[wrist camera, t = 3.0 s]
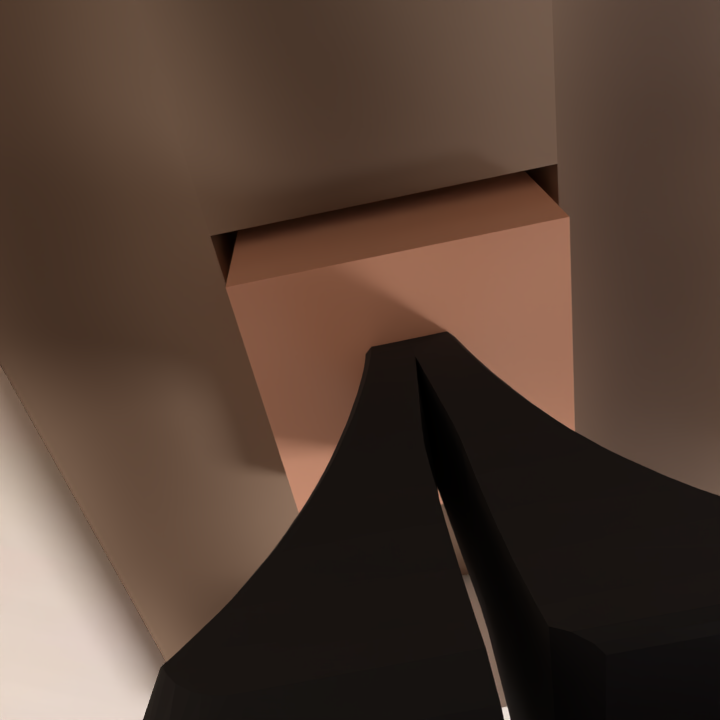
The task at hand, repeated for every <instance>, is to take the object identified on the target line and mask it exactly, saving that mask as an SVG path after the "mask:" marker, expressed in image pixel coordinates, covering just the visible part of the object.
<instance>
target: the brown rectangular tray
mask: <svg viewBox="0 0 720 720" xmlns="http://www.w3.org/2000/svg"><path fill="white" fill-rule="evenodd" d="M520 171H525V172H526V173H527V174H528V175H529V176H530V177H531V178H532V179H533V180H534V181H535V182H536V183H537V184H538V185H539V186H540V187H541V188H542V189H543V190H544V191H545V192H546V193H547V194H548V195H549V196H550V197H551V198H552V199H553V200H554V201H555V202H556V203H557V204H558V206H559V207H560V208H561V209H562V210H563V211H564V212H565V213H566V214H567V215H568V216H569V217H570V255H571V294H572V333H573V372H574V412H575V432H577V433H579V434H581V435H582V436H584V437H586V438H588V439H590V440H591V441H593V442H595V443H597V444H599V445H600V446H602V447H604V448H606V449H608V450H610V451H612V452H614V453H616V454H618V455H620V456H622V457H624V458H627V459H629V460H631V461H633V462H636V463H638V464H640V465H642V466H645V467H647V468H649V469H651V470H654V471H656V472H658V473H660V474H663V475H665V476H667V477H670V478H673V479H675V480H678V481H680V482H683V483H685V484H688V485H691V486H693V487H696V488H698V489H701V490H704V491H707V492H710V493H713V494H716V495H718V496H720V0H0V365H1V367H2V368H3V370H4V372H5V374H6V376H7V377H8V379H9V381H10V383H11V385H12V386H13V388H14V390H15V392H16V394H17V395H18V397H19V399H20V401H21V403H22V404H23V406H24V408H25V410H26V412H27V413H28V415H29V417H30V419H31V421H32V422H33V424H34V426H35V428H36V429H37V431H38V433H39V435H40V437H41V438H42V440H43V442H44V444H45V446H46V447H47V449H48V451H49V453H50V455H51V456H52V458H53V460H54V462H55V464H56V465H57V467H58V469H59V471H60V473H61V474H62V476H63V478H64V480H65V482H66V483H67V485H68V487H69V489H70V491H71V492H72V494H73V496H74V498H75V500H76V501H77V503H78V505H79V507H80V508H81V510H82V512H83V514H84V516H85V517H86V519H87V521H88V523H89V525H90V526H91V528H92V530H93V532H94V534H95V535H96V537H97V539H98V541H99V543H100V544H101V546H102V548H103V550H104V552H105V553H106V555H107V557H108V559H109V561H110V562H111V564H112V566H113V568H114V570H115V571H116V573H117V575H118V577H119V579H120V580H121V582H122V584H123V586H124V587H125V589H126V591H127V593H128V595H129V596H130V598H131V600H132V602H133V604H134V605H135V607H136V609H137V611H138V613H139V614H140V616H141V618H142V620H143V622H144V623H145V625H146V627H147V629H148V631H149V632H150V634H151V636H152V638H153V640H154V641H155V643H156V645H157V647H158V649H159V650H160V652H161V654H162V656H163V658H164V659H165V661H166V662H167V661H168V660H169V659H170V658H171V657H173V656H174V655H175V654H176V653H177V652H178V651H179V650H180V649H181V648H182V647H183V646H184V645H185V644H186V643H187V642H188V641H190V640H191V639H192V638H193V637H194V636H195V635H196V634H197V633H198V632H199V631H200V630H201V629H202V628H203V627H204V626H205V625H206V624H207V623H208V622H209V621H210V620H211V619H213V618H214V617H215V616H216V615H217V614H218V613H219V612H220V611H221V610H222V609H223V608H224V607H225V606H226V605H227V604H228V602H229V601H230V600H231V599H232V598H233V597H234V596H235V595H236V594H237V593H238V591H239V590H240V589H241V588H242V587H243V585H244V584H245V583H246V582H247V581H248V580H249V578H250V577H251V576H252V575H253V574H254V572H255V571H256V570H257V569H258V568H259V567H260V565H261V564H262V563H263V562H264V561H265V560H266V558H267V557H268V556H269V555H270V553H271V552H272V551H273V549H274V548H275V547H276V546H277V544H278V543H279V541H280V540H281V539H282V537H283V536H284V535H285V533H286V532H287V530H288V529H289V527H290V526H291V524H292V523H293V521H294V520H295V518H296V517H297V516H298V514H299V512H298V509H297V506H296V503H295V500H294V497H293V494H292V490H291V487H290V484H289V481H288V478H287V475H286V472H285V469H284V466H283V463H282V460H281V457H280V454H279V450H278V447H277V444H276V441H275V438H274V435H273V432H272V429H271V426H270V423H269V420H268V417H267V414H266V410H265V407H264V404H263V401H262V398H261V395H260V392H259V389H258V386H257V383H256V380H255V377H254V374H253V370H252V367H251V364H250V361H249V358H248V355H247V352H246V349H245V346H244V343H243V340H242V337H241V333H240V330H239V327H238V324H237V321H236V318H235V315H234V312H233V309H232V306H231V303H230V300H229V297H228V293H227V290H226V283H227V278H228V274H229V269H230V265H231V260H232V255H233V251H234V246H235V242H236V237H237V233H238V230H241V229H246V228H251V227H256V226H260V225H265V224H270V223H275V222H280V221H284V220H289V219H294V218H299V217H304V216H308V215H313V214H318V213H323V212H328V211H333V210H337V209H342V208H347V207H352V206H357V205H361V204H366V203H371V202H376V201H381V200H385V199H390V198H395V197H400V196H405V195H409V194H414V193H419V192H424V191H429V190H433V189H438V188H443V187H448V186H453V185H458V184H462V183H467V182H472V181H477V180H482V179H486V178H491V177H496V176H501V175H506V174H510V173H515V172H520ZM441 507H442V511H443V514H444V518H445V521H446V524H447V528H448V531H449V534H450V538H451V541H452V544H453V548H454V551H455V554H456V558H457V561H458V564H459V567H460V571H461V574H462V575H467V574H469V573H468V571H467V568H466V565H465V562H464V560H463V557H462V554H461V551H460V549H459V546H458V543H457V540H456V538H455V535H454V532H453V529H452V527H451V524H450V521H449V518H448V515H447V513H446V510H445V507H444V504H441Z"/></svg>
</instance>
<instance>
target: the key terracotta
mask: <svg viewBox="0 0 720 720" xmlns="http://www.w3.org/2000/svg"><path fill="white" fill-rule="evenodd" d="M226 290H227V293H228V297H229V300H230V303H231V306H232V309H233V312H234V315H235V318H236V321H237V324H238V327H239V330H240V333H241V337H242V340H243V343H244V346H245V349H246V352H247V355H248V358H249V361H250V364H251V367H252V370H253V374H254V377H255V380H256V383H257V386H258V389H259V392H260V395H261V398H262V401H263V404H264V407H265V410H266V414H267V417H268V420H269V423H270V426H271V429H272V432H273V435H274V438H275V441H276V444H277V447H278V450H279V454H280V457H281V460H282V463H283V466H284V469H285V472H286V475H287V478H288V481H289V484H290V487H291V490H292V494H293V497H294V500H295V503H296V506H297V509H298V512H299V513H300V511H301V510H302V508H303V507H304V505H305V504H306V502H307V500H308V499H309V497H310V495H311V494H312V492H313V490H314V489H315V487H316V485H317V483H318V482H319V480H320V478H321V476H322V474H323V473H324V471H325V469H326V467H327V465H328V463H329V461H330V459H331V457H332V455H333V452H334V450H335V448H336V446H337V444H338V441H339V439H340V437H341V435H342V432H343V430H344V428H345V426H346V423H347V421H348V418H349V415H350V412H351V409H352V407H353V404H354V401H355V398H356V395H357V392H358V389H359V385H360V382H361V378H362V374H363V370H364V364H365V354H366V353H367V352H368V350H369V349H370V348H371V347H372V346H378V345H383V344H388V343H393V342H398V341H403V340H408V339H413V338H418V337H422V336H427V335H432V334H437V333H441V332H446V331H447V332H449V333H450V334H452V335H453V336H455V337H456V338H457V339H458V340H459V341H460V342H461V343H462V344H463V345H464V346H465V347H466V348H467V349H468V350H469V351H470V352H471V353H472V354H473V355H474V356H475V357H476V358H477V359H478V360H479V361H480V362H482V363H483V364H484V365H485V366H486V367H487V368H488V369H489V370H491V371H492V372H493V373H494V374H495V375H497V376H498V377H499V378H500V379H502V380H503V381H504V382H505V383H507V384H508V385H509V386H510V387H512V388H513V389H514V390H515V391H516V392H518V393H519V394H520V395H522V396H523V397H524V398H526V399H527V400H528V401H530V402H531V403H532V404H534V405H535V406H537V407H538V408H540V409H541V410H543V411H544V412H545V413H547V414H548V415H550V416H551V417H553V418H554V419H556V420H557V421H559V422H560V423H562V424H564V425H565V426H567V427H568V428H570V429H572V430H573V431H575V412H574V372H573V333H572V294H571V255H570V217H569V216H568V215H567V214H566V213H565V212H564V211H563V210H562V209H561V208H560V207H559V206H558V204H557V203H556V202H555V201H554V200H553V199H552V198H551V197H550V196H549V195H548V194H547V193H546V192H545V191H544V190H543V189H542V188H541V187H540V186H539V185H538V184H537V183H536V182H535V181H534V180H533V179H532V178H531V177H530V176H529V175H528V174H527V173H526V172H525V171H520V172H515V173H510V174H506V175H501V176H496V177H491V178H486V179H482V180H477V181H472V182H467V183H462V184H458V185H453V186H448V187H443V188H438V189H433V190H429V191H424V192H419V193H414V194H409V195H405V196H400V197H395V198H390V199H385V200H381V201H376V202H371V203H366V204H361V205H357V206H352V207H347V208H342V209H337V210H333V211H328V212H323V213H318V214H313V215H308V216H304V217H299V218H294V219H289V220H284V221H280V222H275V223H270V224H265V225H260V226H256V227H251V228H246V229H241V230H238V233H237V237H236V242H235V246H234V251H233V255H232V260H231V265H230V269H229V274H228V278H227V283H226ZM438 494H439V500H440V504H443V502H442V499H441V496H440V493H439V490H438Z"/></svg>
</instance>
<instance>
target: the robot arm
mask: <svg viewBox="0 0 720 720" xmlns="http://www.w3.org/2000/svg"><path fill="white" fill-rule="evenodd" d="M438 490H439V493H440V496H441V499H442V502H443V504H444V507H445V510H446V513H447V515H448V518H449V521H450V524H451V527H452V529H453V532H454V535H455V538H456V540H457V543H458V546H459V549H460V551H461V554H462V557H463V560H464V562H465V565H466V568H467V571H468V573H469V576H470V579H471V582H472V585H473V587H474V590H475V593H476V596H477V598H478V601H479V604H480V607H481V610H482V614H483V617H484V620H485V623H486V626H487V629H488V633H489V637H490V641H491V645H492V649H493V653H494V657H495V661H496V664H497V668H498V672H499V676H500V680H501V684H502V688H503V692H504V696H505V700H506V704H507V708H508V712H509V715H510V719H511V720H720V496H718V495H716V494H713V493H710V492H707V491H704V490H701V489H698V488H696V487H693V486H691V485H688V484H685V483H683V482H680V481H678V480H675V479H673V478H670V477H667V476H665V475H663V474H660V473H658V472H656V471H654V470H651V469H649V468H647V467H645V466H642V465H640V464H638V463H636V462H633V461H631V460H629V459H627V458H624V457H622V456H620V455H618V454H616V453H614V452H612V451H610V450H608V449H606V448H604V447H602V446H600V445H599V444H597V443H595V442H593V441H591V440H590V439H588V438H586V437H584V436H582V435H581V434H579V433H577V432H575V431H573V430H572V429H570V428H568V427H567V426H565V425H564V424H562V423H560V422H559V421H557V420H556V419H554V418H553V417H551V416H550V415H548V414H547V413H545V412H544V411H543V410H541V409H540V408H538V407H537V406H535V405H534V404H532V403H531V402H530V401H528V400H527V399H526V398H524V397H523V396H522V395H520V394H519V393H518V392H516V391H515V390H514V389H513V388H512V387H510V386H509V385H508V384H507V383H505V382H504V381H503V380H502V379H500V378H499V377H498V376H497V375H495V374H494V373H493V372H492V371H491V370H489V369H488V368H487V367H486V366H485V365H484V364H483V363H482V362H480V361H479V360H478V359H477V358H476V357H475V356H474V355H473V354H472V353H471V352H470V351H469V350H468V349H467V348H466V347H465V346H464V345H463V344H462V343H461V342H460V341H459V340H458V339H457V338H456V337H455V336H453V335H452V334H450V333H449V332H447V331H446V332H441V333H437V334H432V335H427V336H422V337H418V338H413V339H408V340H403V341H398V342H393V343H388V344H383V345H378V346H372V347H371V348H370V349H369V350H368V352H367V353H366V354H365V364H364V370H363V374H362V378H361V382H360V385H359V389H358V392H357V395H356V398H355V401H354V404H353V407H352V409H351V412H350V415H349V418H348V421H347V423H346V426H345V428H344V430H343V432H342V435H341V437H340V439H339V441H338V444H337V446H336V448H335V450H334V452H333V455H332V457H331V459H330V461H329V463H328V465H327V467H326V469H325V471H324V473H323V474H322V476H321V478H320V480H319V482H318V483H317V485H316V487H315V489H314V490H313V492H312V494H311V495H310V497H309V499H308V500H307V502H306V504H305V505H304V507H303V508H302V510H301V511H300V513H299V514H298V516H297V517H296V518H295V520H294V521H293V523H292V524H291V526H290V527H289V529H288V530H287V532H286V533H285V535H284V536H283V537H282V539H281V540H280V541H279V543H278V544H277V546H276V547H275V548H274V549H273V551H272V552H271V553H270V555H269V556H268V557H267V558H266V560H265V561H264V562H263V563H262V564H261V565H260V567H259V568H258V569H257V570H256V571H255V572H254V574H253V575H252V576H251V577H250V578H249V580H248V581H247V582H246V583H245V584H244V585H243V587H242V588H241V589H240V590H239V591H238V593H237V594H236V595H235V596H234V597H233V598H232V599H231V600H230V601H229V602H228V604H227V605H226V606H225V607H224V608H223V609H222V610H221V611H220V612H219V613H218V614H217V615H216V616H215V617H214V618H213V619H211V620H210V621H209V622H208V623H207V624H206V625H205V626H204V627H203V628H202V629H201V630H200V631H199V632H198V633H197V634H196V635H195V636H194V637H193V638H192V639H191V640H190V641H188V642H187V643H186V644H185V645H184V646H183V647H182V648H181V649H180V650H179V651H178V652H177V653H176V654H175V655H174V656H173V657H171V658H170V659H169V660H168V661H167V662H166V663H165V664H164V665H162V667H161V668H160V671H159V674H158V677H157V680H156V682H155V685H154V688H153V691H152V694H151V697H150V701H149V704H148V707H147V709H146V712H145V715H144V719H143V720H504V716H503V712H502V707H501V703H500V699H499V695H498V692H497V688H496V684H495V680H494V677H493V673H492V669H491V665H490V661H489V658H488V654H487V650H486V647H485V644H484V641H483V638H482V635H481V632H480V629H479V626H478V623H477V620H476V617H475V614H474V611H473V608H472V605H471V602H470V599H469V595H468V592H467V589H466V586H465V583H464V580H463V577H462V574H461V571H460V567H459V564H458V561H457V558H456V554H455V551H454V548H453V544H452V541H451V538H450V534H449V531H448V528H447V524H446V521H445V518H444V514H443V511H442V507H441V504H440V500H439V494H438Z"/></svg>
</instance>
